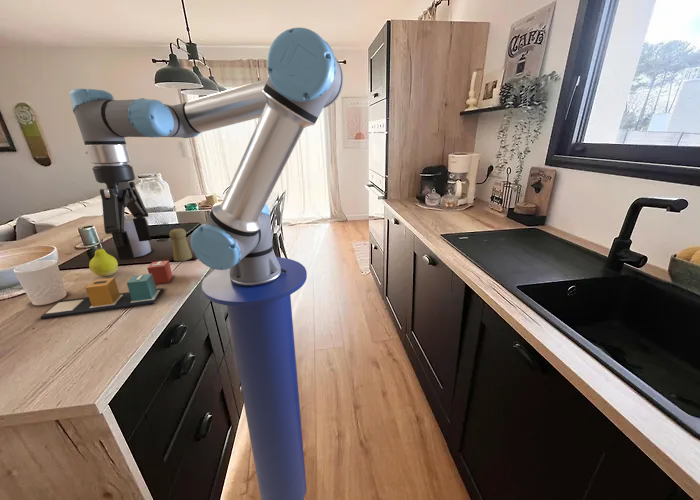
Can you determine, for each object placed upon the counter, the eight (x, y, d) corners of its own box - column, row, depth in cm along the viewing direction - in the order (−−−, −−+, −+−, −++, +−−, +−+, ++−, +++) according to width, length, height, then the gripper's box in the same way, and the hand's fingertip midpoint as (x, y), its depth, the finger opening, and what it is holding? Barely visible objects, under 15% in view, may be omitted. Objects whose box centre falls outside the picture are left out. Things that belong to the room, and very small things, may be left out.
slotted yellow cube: (120, 295, 78) (114, 276, 76) (112, 304, 74) (106, 284, 72) (100, 298, 77) (94, 279, 75) (92, 306, 73) (84, 286, 71)
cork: (170, 258, 104) (163, 229, 101) (187, 253, 109) (181, 226, 105) (178, 262, 101) (172, 232, 97) (195, 257, 106) (189, 228, 102)
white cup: (61, 289, 83) (48, 257, 79) (75, 295, 80) (62, 262, 76) (23, 302, 76) (7, 268, 73) (36, 309, 73) (20, 274, 69)
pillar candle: (119, 253, 110) (107, 215, 104) (149, 247, 116) (139, 210, 110) (122, 260, 103) (110, 220, 98) (154, 253, 109) (144, 215, 104)
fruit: (89, 281, 88) (76, 244, 83) (97, 272, 93) (85, 238, 89) (117, 277, 90) (105, 241, 86) (123, 269, 96) (112, 235, 92)
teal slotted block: (156, 291, 81) (152, 272, 79) (151, 298, 77) (146, 279, 75) (138, 293, 80) (133, 274, 78) (132, 301, 76) (126, 282, 74)
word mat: (163, 289, 83) (162, 287, 83) (154, 304, 76) (153, 301, 75) (61, 302, 76) (60, 300, 76) (41, 319, 69) (40, 316, 69)
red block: (172, 276, 91) (168, 259, 89) (168, 282, 87) (164, 265, 85) (156, 278, 90) (152, 261, 88) (151, 284, 86) (147, 267, 84)
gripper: (115, 161, 77) (136, 236, 85) (61, 169, 55) (97, 269, 63) (147, 160, 80) (165, 233, 87) (107, 168, 57) (137, 264, 65)
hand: (136, 248), depth 75 cm, fingers open, 13 cm apart
